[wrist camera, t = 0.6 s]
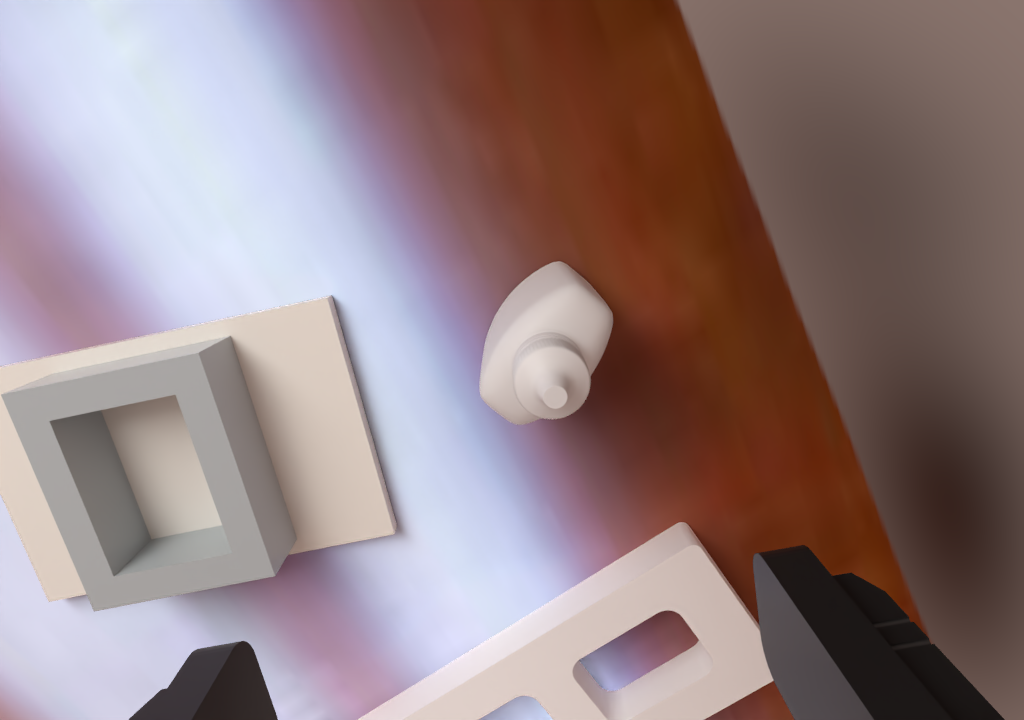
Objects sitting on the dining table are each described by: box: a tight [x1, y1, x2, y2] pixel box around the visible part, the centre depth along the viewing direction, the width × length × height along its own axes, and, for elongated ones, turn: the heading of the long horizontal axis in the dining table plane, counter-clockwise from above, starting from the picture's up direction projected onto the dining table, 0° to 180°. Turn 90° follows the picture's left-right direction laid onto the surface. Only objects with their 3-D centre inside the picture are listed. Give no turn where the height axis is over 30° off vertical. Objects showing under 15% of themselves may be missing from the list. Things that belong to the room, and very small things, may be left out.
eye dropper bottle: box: [480, 261, 613, 425], centre depth 25 cm, size 4×6×12 cm
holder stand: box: [0, 295, 397, 611], centre depth 30 cm, size 12×18×4 cm, turn 102°
